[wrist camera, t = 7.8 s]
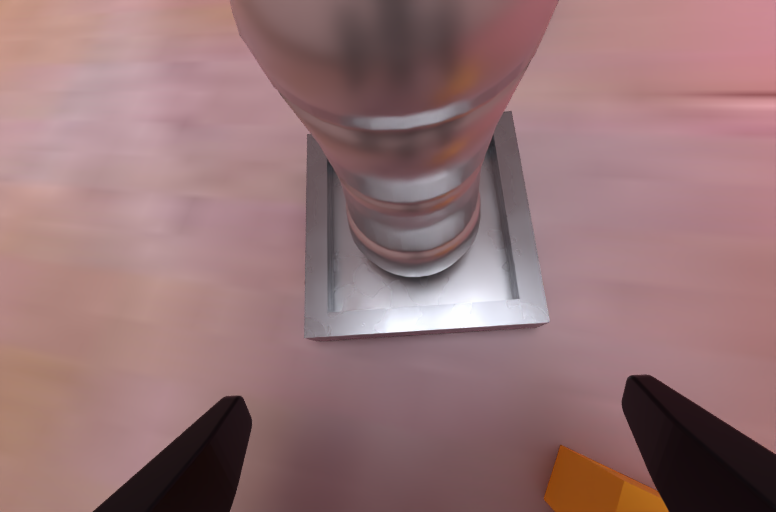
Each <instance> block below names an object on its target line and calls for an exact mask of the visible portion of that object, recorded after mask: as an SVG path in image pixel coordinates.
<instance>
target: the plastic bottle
mask: <svg viewBox="0 0 776 512" xmlns="http://www.w3.org/2000/svg"><path fill="white" fill-rule="evenodd" d="M558 1H559V0H230V4H231V9H232V13H233V16H234V19H235V22H236V25H237V28H238V31H239V34H240V36H241V38H242V39H243V41H244V42H245V44H246V45H247V47H248V48H249V50H250V51H251V53H252V54H253V56H254V57H255V59H256V61H257V62H258V64H259V65H260V67H261V68H262V70H263V71H264V73H265V74H266V76H267V77H268V79H269V80H270V82H271V83H272V85H273V86H274V87H275V88H276V89H277V90H278V92H279V93H280V95H281V96H282V97H283V99H284V100H285V101H286V103H287V104H288V105H289V106H290V108H291V109H292V110H293V111H294V113H295V114H296V115H297V117H298V118H299V119H300V120H301V122H302V123H303V124H304V126H305V127H306V128H307V129H308V131H309V132H310V133H311V135H312V136H313V137H314V138H315V140H316V141H317V142H318V143H319V145H320V147H321V148H322V150H323V152H324V154H325V155H326V157H327V159H328V161H329V162H330V164H331V165H332V167H333V168H334V171H335V173H336V174H337V176H338V178H339V180H340V182H341V186H342V189H343V193H344V196H345V200H346V213H347V220H348V225H349V230H350V233H351V235H352V238H353V241H354V242H355V244H356V245H357V247H358V249H359V250H360V251H361V252H362V253H363V254H364V255H365V256H366V257H367V258H368V259H369V260H370V261H371V262H373V263H374V264H376V265H377V266H379V267H381V268H382V269H384V270H386V271H388V272H391V273H393V274H396V275H400V276H405V277H422V276H429V275H432V274H435V273H438V272H441V271H443V270H444V269H446V268H448V267H449V266H451V265H452V264H453V263H455V262H456V261H457V260H458V259H459V258H460V257H461V256H462V255H464V254H465V253H466V252H467V250H468V249H469V247H470V246H471V245H472V243H473V242H474V240H475V237H476V235H477V233H478V230H479V225H480V220H481V201H480V192H479V184H480V175H481V166H482V163H483V161H484V158H485V154H486V152H487V149H488V147H489V144H490V142H491V139H492V136H493V134H494V131H495V128H496V125H497V123H498V122H499V120H500V118H501V116H502V114H503V112H504V110H505V108H506V107H507V105H508V103H509V101H510V99H511V97H512V95H513V94H514V92H515V90H516V88H517V86H518V84H519V82H520V81H521V79H522V77H523V75H524V73H525V71H526V69H527V67H528V65H529V63H530V61H531V59H532V58H533V56H534V55H535V53H536V51H537V49H538V46H539V44H540V42H541V40H542V38H543V36H544V33H545V31H546V29H547V26H548V24H549V22H550V19H551V17H552V15H553V12H554V10H555V8H556V6H557V3H558Z"/></svg>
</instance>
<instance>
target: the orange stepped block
mask: <svg viewBox="0 0 776 512" xmlns="http://www.w3.org/2000/svg"><path fill="white" fill-rule="evenodd" d="M544 500H545V501H546V502H547V503H548V504H549V506H550V507H551V508H552V509H553V510H554V511H555V512H669V511H668V509H667V507H666V505H665V503H664V501H663V500H662V498H661V496H660V494H659V492H658V491H656V490H654V489H652V488H650V487H648V486H646V485H644V484H642V483H640V482H638V481H636V480H633V479H631V478H629V477H627V476H625V475H623V474H621V473H619V472H617V471H615V470H613V469H610V468H608V467H606V466H604V465H602V464H600V463H598V462H596V461H594V460H592V459H590V458H587V457H585V456H583V455H581V454H579V453H577V452H575V451H573V450H571V449H569V448H567V447H564V446H562V445H560V448H559V451H558V455H557V458H556V461H555V464H554V467H553V471H552V474H551V477H550V480H549V483H548V487H547V490H546V493H545V496H544Z"/></svg>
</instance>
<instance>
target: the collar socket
mask: <svg viewBox="0 0 776 512" xmlns="http://www.w3.org/2000/svg"><path fill="white" fill-rule="evenodd" d="M479 192H480V201H481V220H480V225H479V230H478V233H477V235H476V237H475V240H474V242H473V243H472V245H471V246H470V247H469V249H468V250H467V252H466V253H465V254H464V255H462V256H461V257H460V258H459V259H458V260H457V261H456V262H455V263H453V264H452V265H451V266H449V267H448V268H446V269H444V270H443V271H441V272H438V273H435V274H432V275H429V276H422V277H405V276H400V275H396V274H393V273H391V272H388V271H386V270H384V269H382V268H381V267H379V266H377V265H376V264H374V263H373V262H371V261H370V260H369V259H368V258H367V257H366V256H365V255H364V254H363V253H362V252H361V251H360V250H359V249H358V247H357V245H356V244H355V242H354V241H353V238H352V235H351V233H350V230H349V225H348V220H347V213H346V200H345V196H344V193H343V189H342V186H341V182H340V180H339V178H338V176H337V174H336V173H335V171H334V168H333V167H332V165H331V164H330V162H329V161H328V159H327V157H326V155H325V154H324V152H323V150H322V148H321V147H320V145H319V143H318V142H317V141H316V140H315V138H314V137H313V136H312V135H311V134H307V186H306V254H305V323H304V338H306V339H310V340H314V341H331V340H347V339H362V338H378V337H394V336H410V335H425V334H441V333H457V332H473V331H489V330H504V329H520V328H536V327H539V326H542V325H544V324H547V323H549V322H550V320H549V315H548V309H547V304H546V298H545V293H544V287H543V282H542V276H541V271H540V265H539V260H538V254H537V249H536V243H535V238H534V232H533V227H532V221H531V216H530V210H529V204H528V199H527V193H526V188H525V182H524V177H523V171H522V166H521V160H520V155H519V149H518V144H517V138H516V133H515V127H514V122H513V116H512V111H507V112H503V114H502V116H501V118H500V120H499V122H498V123H497V125H496V128H495V131H494V134H493V136H492V139H491V142H490V144H489V147H488V149H487V152H486V154H485V158H484V161H483V163H482V166H481V175H480V184H479Z"/></svg>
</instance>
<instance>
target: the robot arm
mask: <svg viewBox="0 0 776 512" xmlns="http://www.w3.org/2000/svg"><path fill="white" fill-rule="evenodd" d="M622 409H623V412H624V415H625V417H626V419H627V422H628V424H629V427H630V429H631V431H632V434H633V436H634V438H635V441H636V443H637V445H638V448H639V450H640V453H641V455H642V457H643V460H644V462H645V464H646V467H647V469H648V471H649V474H650V476H651V478H652V480H653V482H654V484H655V486H656V488H657V490H658V492H659V494H660V496H661V498H662V500H663V501H664V503H665V505H666V507H667V509H668V511H669V512H776V454H774V453H773V452H771V451H770V450H768V449H766V448H765V447H763V446H762V445H760V444H759V443H757V442H755V441H754V440H752V439H751V438H749V437H747V436H746V435H744V434H743V433H741V432H740V431H738V430H736V429H735V428H733V427H732V426H730V425H729V424H727V423H725V422H724V421H722V420H721V419H719V418H717V417H716V416H714V415H713V414H711V413H710V412H708V411H706V410H705V409H703V408H702V407H700V406H698V405H697V404H695V403H694V402H692V401H691V400H689V399H687V398H686V397H684V396H683V395H681V394H679V393H678V392H676V391H675V390H673V389H672V388H670V387H668V386H667V385H665V384H664V383H662V382H661V381H659V380H657V379H656V378H654V377H652V376H650V375H631V376H629V377H628V378H627V381H626V385H625V389H624V393H623V397H622ZM251 428H252V419H251V416H250V413H249V411H248V408H247V406H246V403H245V401H244V399H243V397H241V396H226V397H224V398H222V399H221V400H220V401H218V402H217V403H216V404H215V405H214V406H213V407H212V408H210V409H209V410H208V411H207V412H206V413H205V414H204V415H202V416H201V417H200V418H199V419H198V420H197V421H196V422H194V423H193V424H192V425H191V426H190V427H189V428H188V429H186V430H185V431H184V432H183V433H182V434H181V435H180V436H178V437H177V438H176V439H175V440H174V441H173V442H172V443H171V444H169V445H168V446H167V447H166V448H165V449H164V450H163V451H161V452H160V453H159V454H158V455H157V456H156V457H155V458H153V459H152V460H151V461H150V462H149V463H148V464H147V465H145V466H144V467H143V468H142V469H141V470H140V471H139V472H137V473H136V474H135V475H134V476H133V477H132V478H131V479H129V480H128V481H127V482H126V483H125V484H124V485H123V486H121V487H120V488H119V489H118V490H117V491H116V492H115V493H113V494H112V495H111V496H110V497H109V498H108V499H107V500H105V501H104V502H103V503H102V504H101V505H100V506H99V507H97V508H96V509H95V510H94V511H93V512H230V509H231V506H232V503H233V500H234V497H235V494H236V490H237V487H238V483H239V479H240V475H241V470H242V466H243V462H244V458H245V454H246V449H247V445H248V441H249V437H250V433H251Z"/></svg>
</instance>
